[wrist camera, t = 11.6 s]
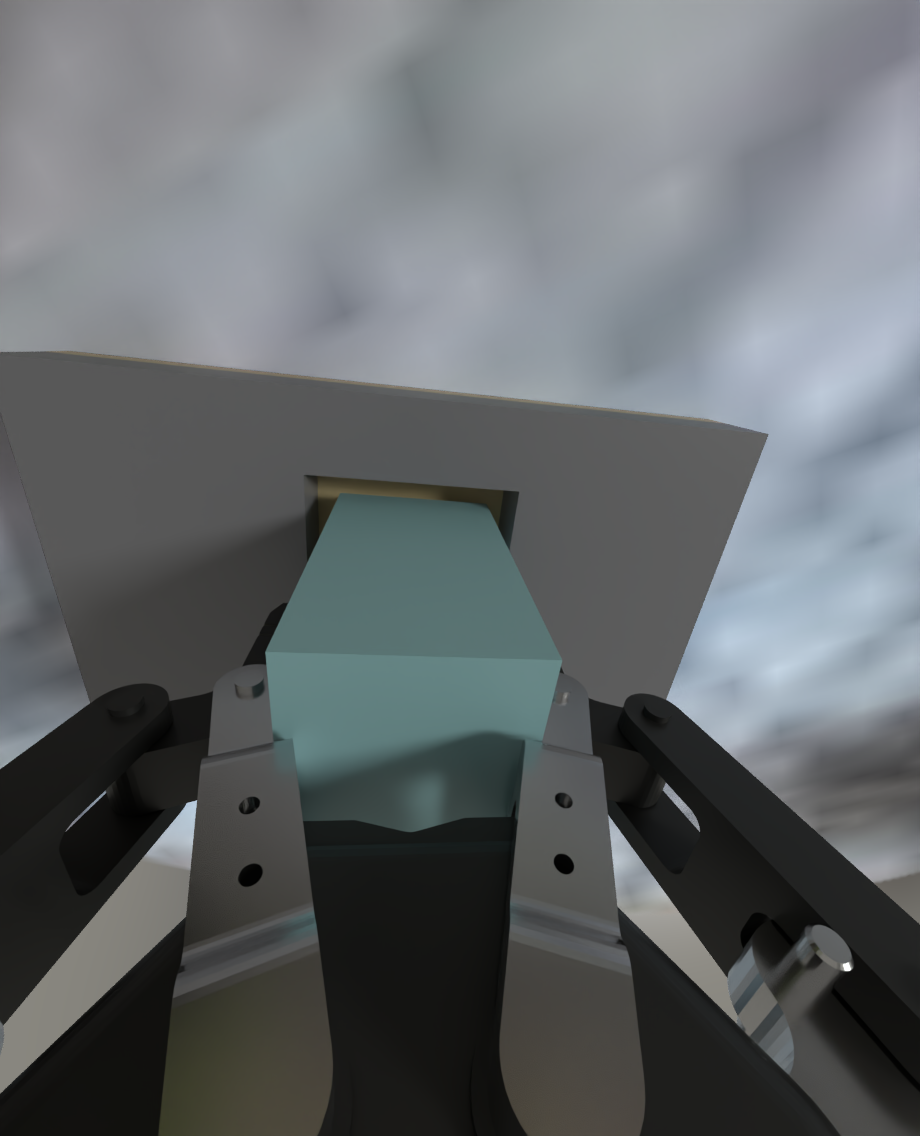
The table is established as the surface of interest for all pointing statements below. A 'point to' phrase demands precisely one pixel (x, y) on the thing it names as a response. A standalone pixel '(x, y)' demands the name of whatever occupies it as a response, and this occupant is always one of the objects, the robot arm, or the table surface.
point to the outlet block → (356, 466)
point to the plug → (409, 666)
